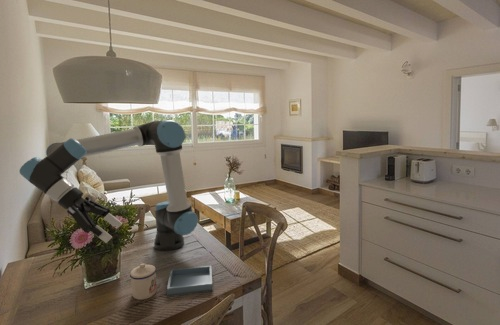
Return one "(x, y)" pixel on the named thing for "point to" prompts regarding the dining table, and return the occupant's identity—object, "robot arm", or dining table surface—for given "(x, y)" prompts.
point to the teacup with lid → (143, 281)
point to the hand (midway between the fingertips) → (115, 232)
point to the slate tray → (190, 280)
